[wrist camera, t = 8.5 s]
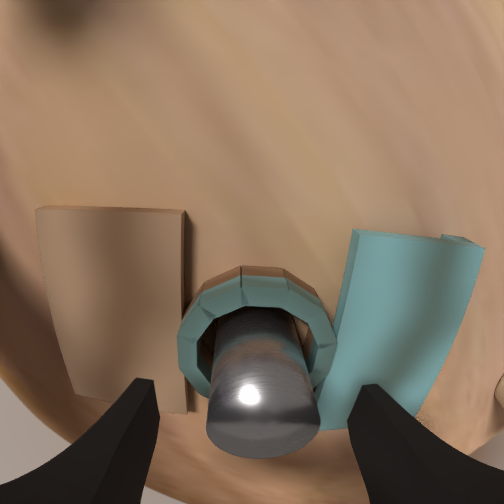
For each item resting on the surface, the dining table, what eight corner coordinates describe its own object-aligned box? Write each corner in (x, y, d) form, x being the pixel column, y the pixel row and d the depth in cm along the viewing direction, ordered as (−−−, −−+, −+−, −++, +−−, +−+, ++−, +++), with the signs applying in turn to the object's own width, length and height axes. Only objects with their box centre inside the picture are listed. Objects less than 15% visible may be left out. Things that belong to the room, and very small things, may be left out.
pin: (217, 358, 15) (208, 457, 9) (217, 294, 13) (203, 391, 8) (289, 359, 15) (309, 456, 9) (298, 296, 14) (331, 390, 8)
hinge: (80, 385, 15) (68, 407, 13) (44, 205, 12) (19, 215, 10) (404, 399, 16) (415, 419, 14) (463, 237, 13) (487, 249, 11)
